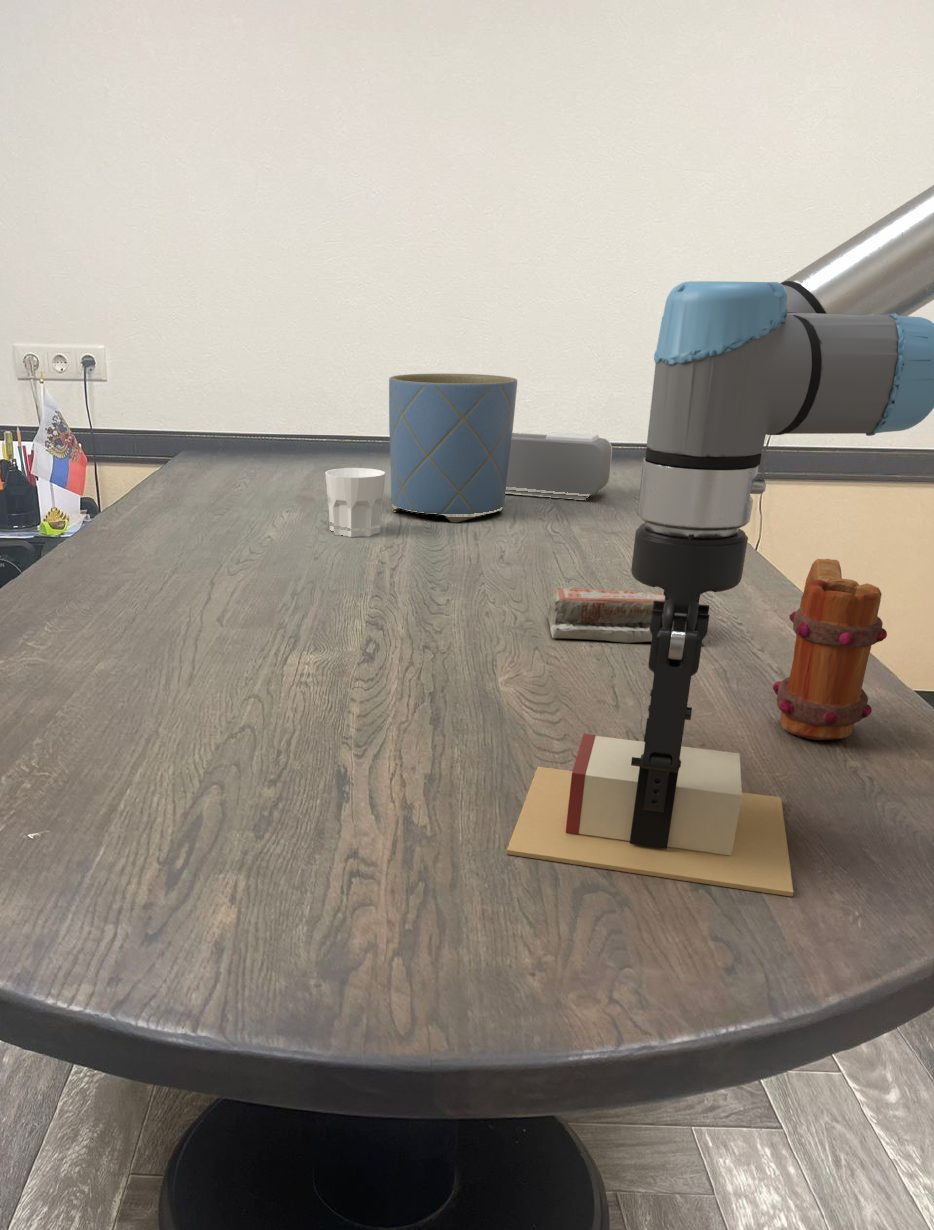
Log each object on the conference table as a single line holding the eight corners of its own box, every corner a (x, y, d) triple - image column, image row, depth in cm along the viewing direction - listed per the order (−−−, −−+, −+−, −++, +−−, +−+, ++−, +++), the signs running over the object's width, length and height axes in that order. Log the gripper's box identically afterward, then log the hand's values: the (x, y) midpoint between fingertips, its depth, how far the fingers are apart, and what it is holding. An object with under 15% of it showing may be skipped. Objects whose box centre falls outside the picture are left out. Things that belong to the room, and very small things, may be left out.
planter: (361, 512, 200) (362, 378, 190) (434, 496, 215) (439, 371, 206) (461, 529, 186) (469, 386, 176) (531, 511, 202) (542, 378, 192)
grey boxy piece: (553, 600, 126) (549, 580, 135) (550, 640, 128) (546, 617, 137) (711, 606, 125) (696, 584, 134) (705, 646, 127) (690, 622, 136)
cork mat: (780, 801, 89) (781, 797, 88) (792, 897, 75) (793, 892, 75) (537, 770, 94) (537, 766, 94) (506, 854, 80) (506, 849, 80)
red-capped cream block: (577, 790, 89) (583, 733, 87) (729, 810, 86) (740, 752, 84) (565, 833, 82) (571, 772, 80) (731, 857, 79) (742, 794, 77)
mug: (872, 754, 98) (909, 592, 91) (778, 747, 99) (808, 587, 93) (836, 699, 111) (866, 554, 104) (753, 694, 112) (778, 550, 106)
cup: (391, 536, 181) (392, 476, 176) (333, 539, 178) (333, 478, 174) (375, 525, 189) (376, 467, 185) (319, 527, 187) (319, 469, 183)
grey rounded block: (607, 495, 218) (614, 434, 213) (597, 502, 210) (604, 439, 205) (478, 485, 228) (482, 426, 223) (464, 492, 220) (467, 431, 215)
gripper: (754, 563, 64) (699, 891, 74) (745, 502, 83) (702, 772, 92) (626, 553, 66) (589, 874, 76) (645, 497, 85) (613, 761, 94)
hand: (651, 818), depth 84 cm, fingers closed on red-capped cream block, 8 cm apart
